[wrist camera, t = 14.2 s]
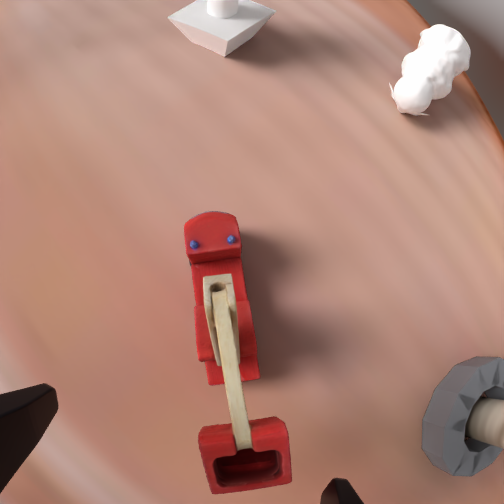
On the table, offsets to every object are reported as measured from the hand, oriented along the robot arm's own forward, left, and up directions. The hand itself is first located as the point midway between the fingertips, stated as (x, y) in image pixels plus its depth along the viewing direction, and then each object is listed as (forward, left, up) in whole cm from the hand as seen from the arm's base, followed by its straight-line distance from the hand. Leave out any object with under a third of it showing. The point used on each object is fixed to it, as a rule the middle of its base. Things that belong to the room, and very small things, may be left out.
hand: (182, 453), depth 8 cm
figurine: (+28, +12, -12) cm, 33 cm away
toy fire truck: (+4, 0, -12) cm, 13 cm away
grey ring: (+4, -22, -12) cm, 25 cm away
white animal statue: (+32, -8, -12) cm, 35 cm away
